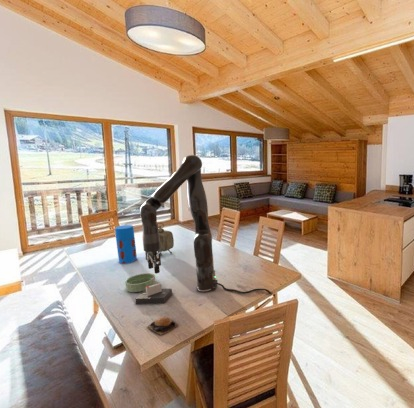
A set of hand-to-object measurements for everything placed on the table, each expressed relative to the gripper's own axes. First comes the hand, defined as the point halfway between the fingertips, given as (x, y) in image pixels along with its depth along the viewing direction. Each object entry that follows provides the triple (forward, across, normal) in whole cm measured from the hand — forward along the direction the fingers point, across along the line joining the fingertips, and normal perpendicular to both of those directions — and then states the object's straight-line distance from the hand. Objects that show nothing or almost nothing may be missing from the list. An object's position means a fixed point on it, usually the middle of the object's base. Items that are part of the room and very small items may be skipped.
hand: (154, 270), depth 144 cm
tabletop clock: (+16, +64, -28) cm, 72 cm away
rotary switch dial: (+15, 0, +1) cm, 16 cm away
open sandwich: (+16, -29, +8) cm, 33 cm away
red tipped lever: (+12, 0, +1) cm, 12 cm away
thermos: (+16, +70, -6) cm, 72 cm away
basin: (+16, +20, +1) cm, 25 cm away
